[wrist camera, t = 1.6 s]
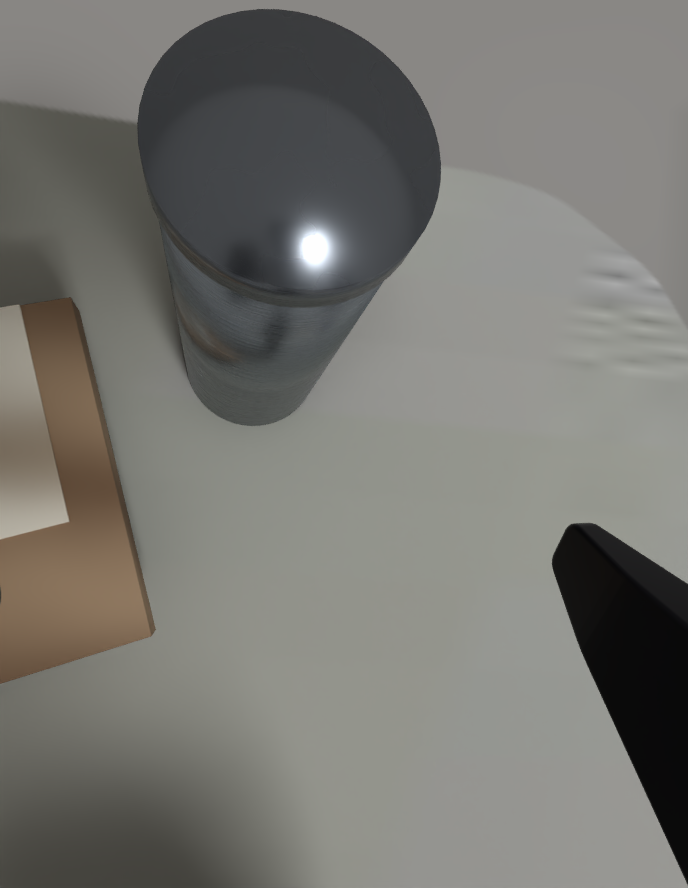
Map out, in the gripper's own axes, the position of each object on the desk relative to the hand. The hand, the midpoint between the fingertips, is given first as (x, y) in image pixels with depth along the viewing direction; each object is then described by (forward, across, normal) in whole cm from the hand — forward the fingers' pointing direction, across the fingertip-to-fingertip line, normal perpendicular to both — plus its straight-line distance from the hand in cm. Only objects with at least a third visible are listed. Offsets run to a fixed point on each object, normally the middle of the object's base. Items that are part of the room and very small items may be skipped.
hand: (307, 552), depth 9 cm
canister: (+14, 0, +4) cm, 15 cm away
